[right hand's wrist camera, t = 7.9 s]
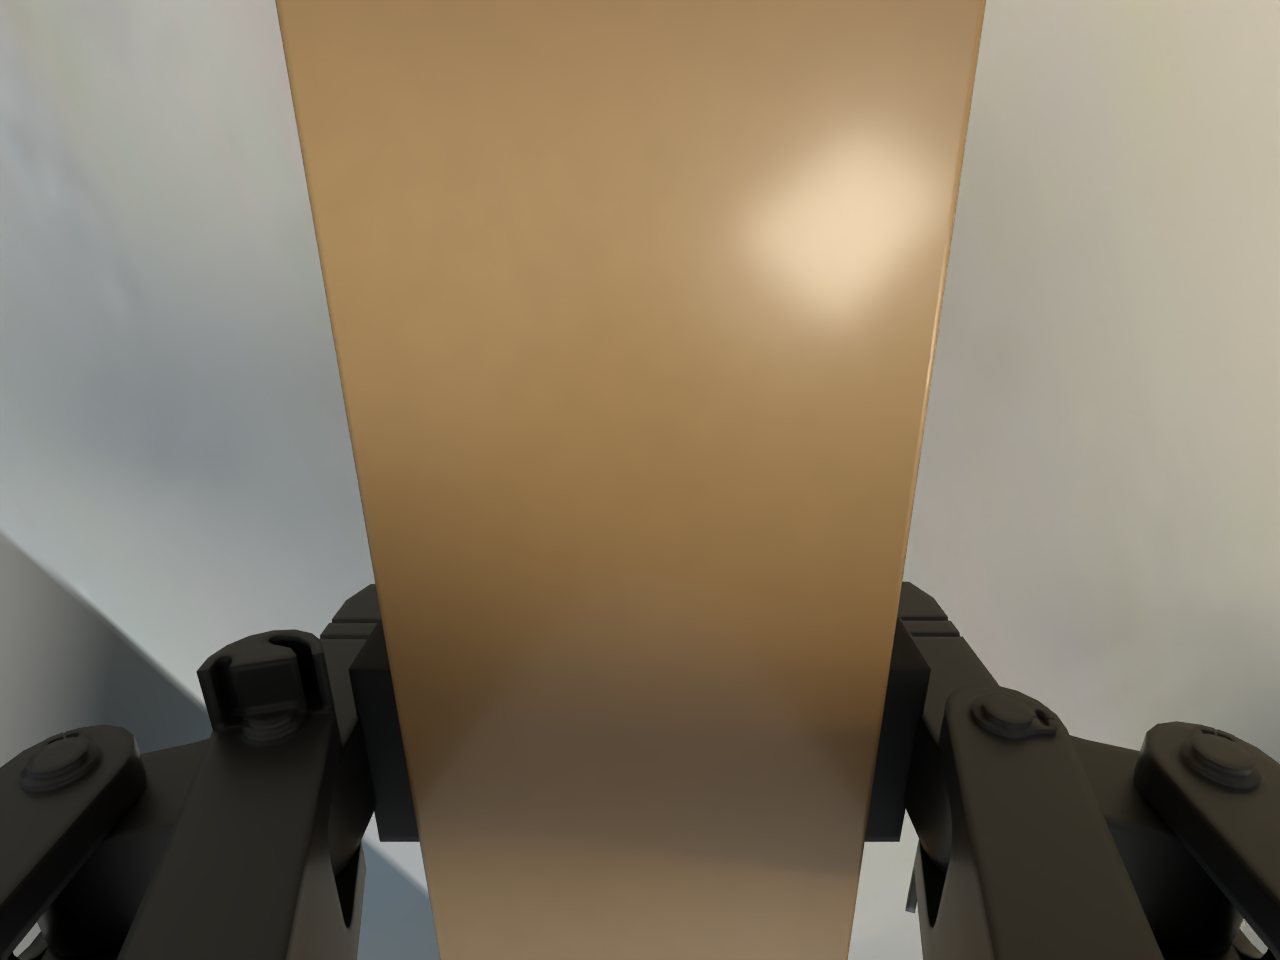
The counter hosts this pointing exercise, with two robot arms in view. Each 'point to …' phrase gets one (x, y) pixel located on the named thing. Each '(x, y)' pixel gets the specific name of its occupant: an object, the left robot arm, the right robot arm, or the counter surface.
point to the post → (636, 436)
